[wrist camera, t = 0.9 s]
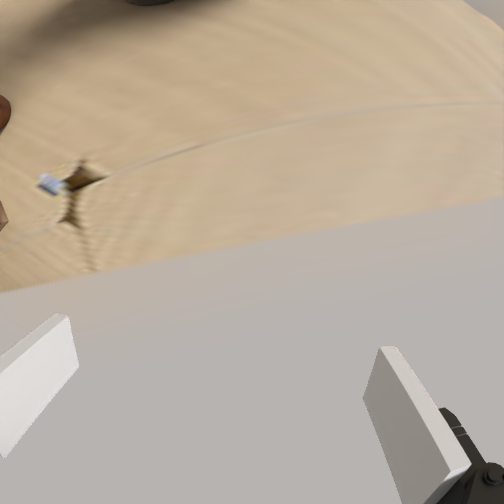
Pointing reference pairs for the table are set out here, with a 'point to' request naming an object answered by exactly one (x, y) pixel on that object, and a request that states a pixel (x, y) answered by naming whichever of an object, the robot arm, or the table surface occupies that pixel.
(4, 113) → the wooden figurine
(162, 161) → the table surface
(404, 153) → the table surface
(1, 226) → the walnut cube
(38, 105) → the table surface
